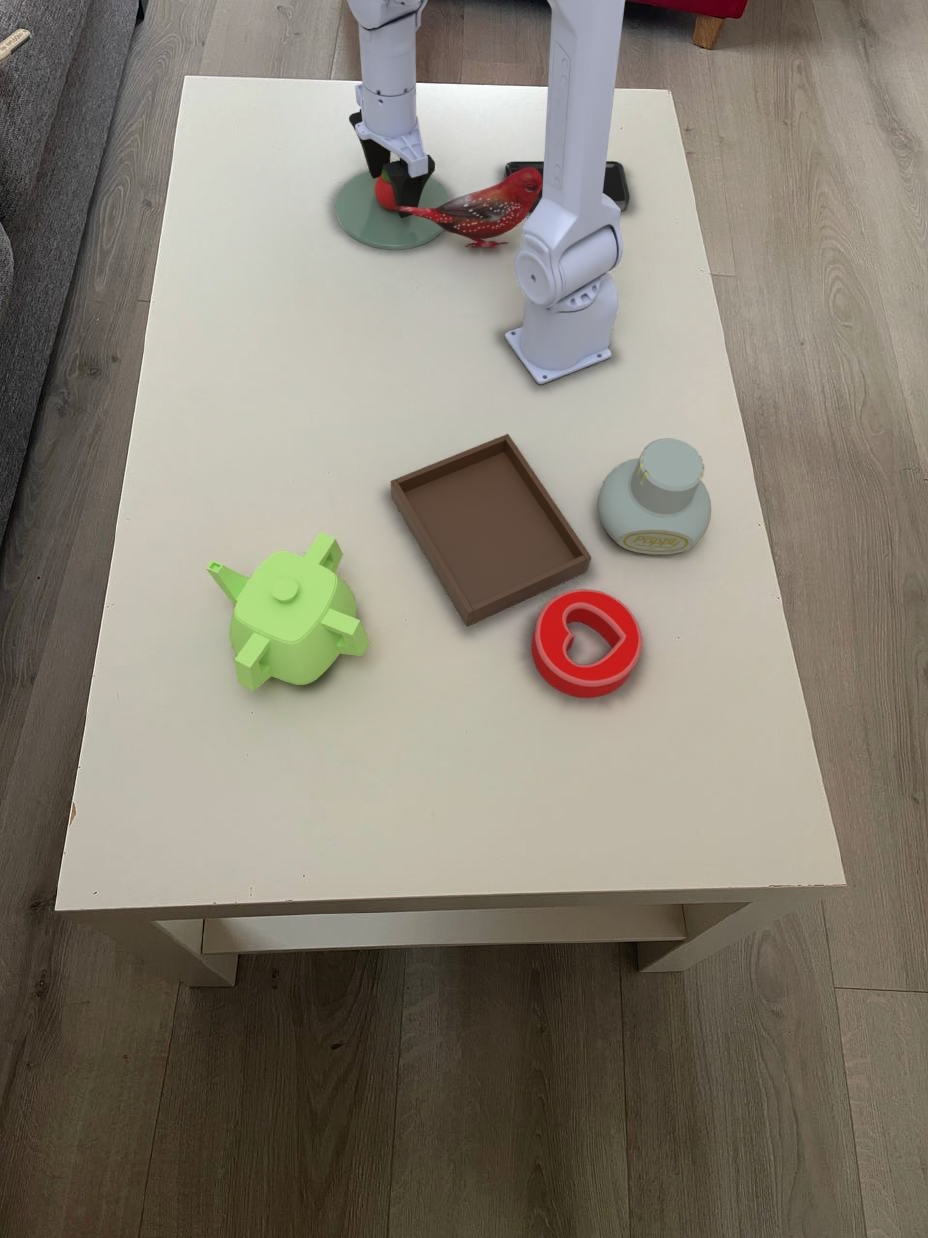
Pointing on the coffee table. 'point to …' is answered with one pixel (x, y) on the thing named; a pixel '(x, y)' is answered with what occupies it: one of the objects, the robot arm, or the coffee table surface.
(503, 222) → the decorative bird figurine
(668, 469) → the air freshener
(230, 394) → the coffee table surface
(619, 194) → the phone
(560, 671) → the decorative ornament
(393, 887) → the coffee table surface
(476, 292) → the coffee table surface
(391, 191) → the strawberry
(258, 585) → the teapot
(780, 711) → the coffee table surface
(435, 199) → the plate
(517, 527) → the tray
